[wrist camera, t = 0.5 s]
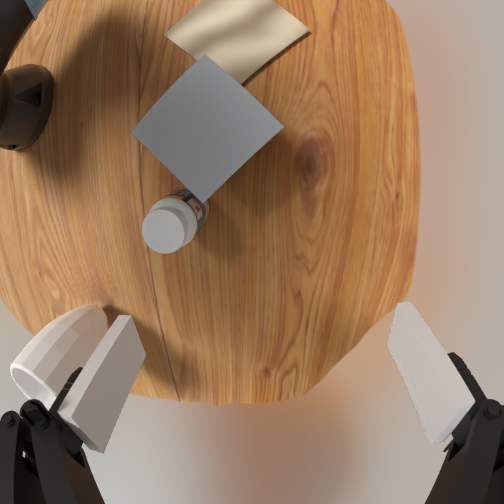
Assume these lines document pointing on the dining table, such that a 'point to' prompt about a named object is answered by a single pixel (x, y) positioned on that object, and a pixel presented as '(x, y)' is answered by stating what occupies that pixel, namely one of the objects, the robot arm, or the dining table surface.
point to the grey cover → (205, 127)
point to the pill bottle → (174, 221)
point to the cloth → (236, 34)
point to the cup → (58, 352)
